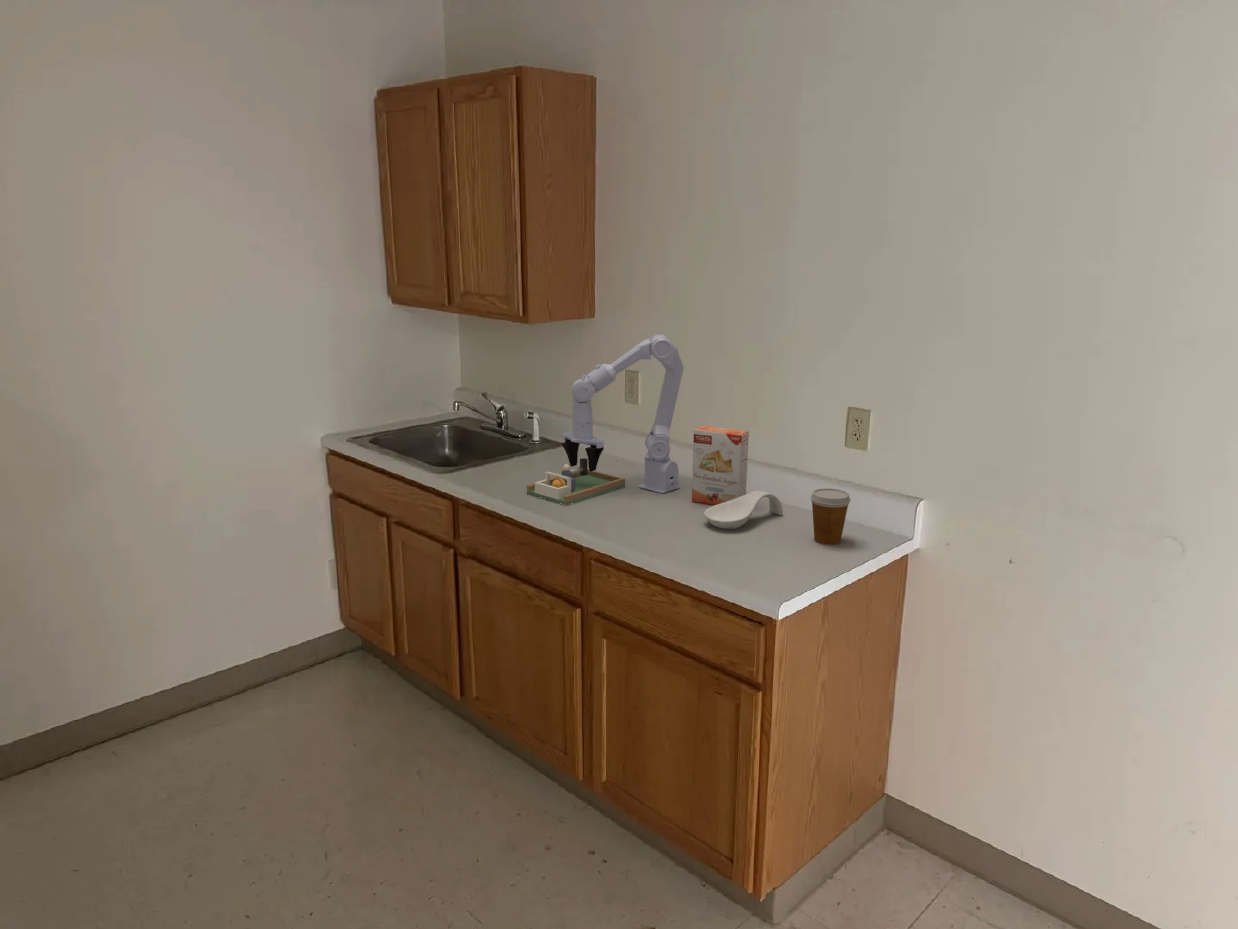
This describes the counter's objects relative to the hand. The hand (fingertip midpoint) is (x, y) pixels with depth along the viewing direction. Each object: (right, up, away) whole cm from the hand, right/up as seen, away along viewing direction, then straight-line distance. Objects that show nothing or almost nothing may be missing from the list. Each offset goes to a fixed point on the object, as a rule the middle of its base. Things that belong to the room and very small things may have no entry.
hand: (583, 468), depth 258 cm
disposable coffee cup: (+61, -18, -39) cm, 75 cm away
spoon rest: (+43, -14, -25) cm, 52 cm away
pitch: (-2, -6, 0) cm, 7 cm away
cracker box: (+38, -10, -11) cm, 41 cm away
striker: (-2, -5, -1) cm, 6 cm away
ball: (-7, -5, -6) cm, 10 cm away
